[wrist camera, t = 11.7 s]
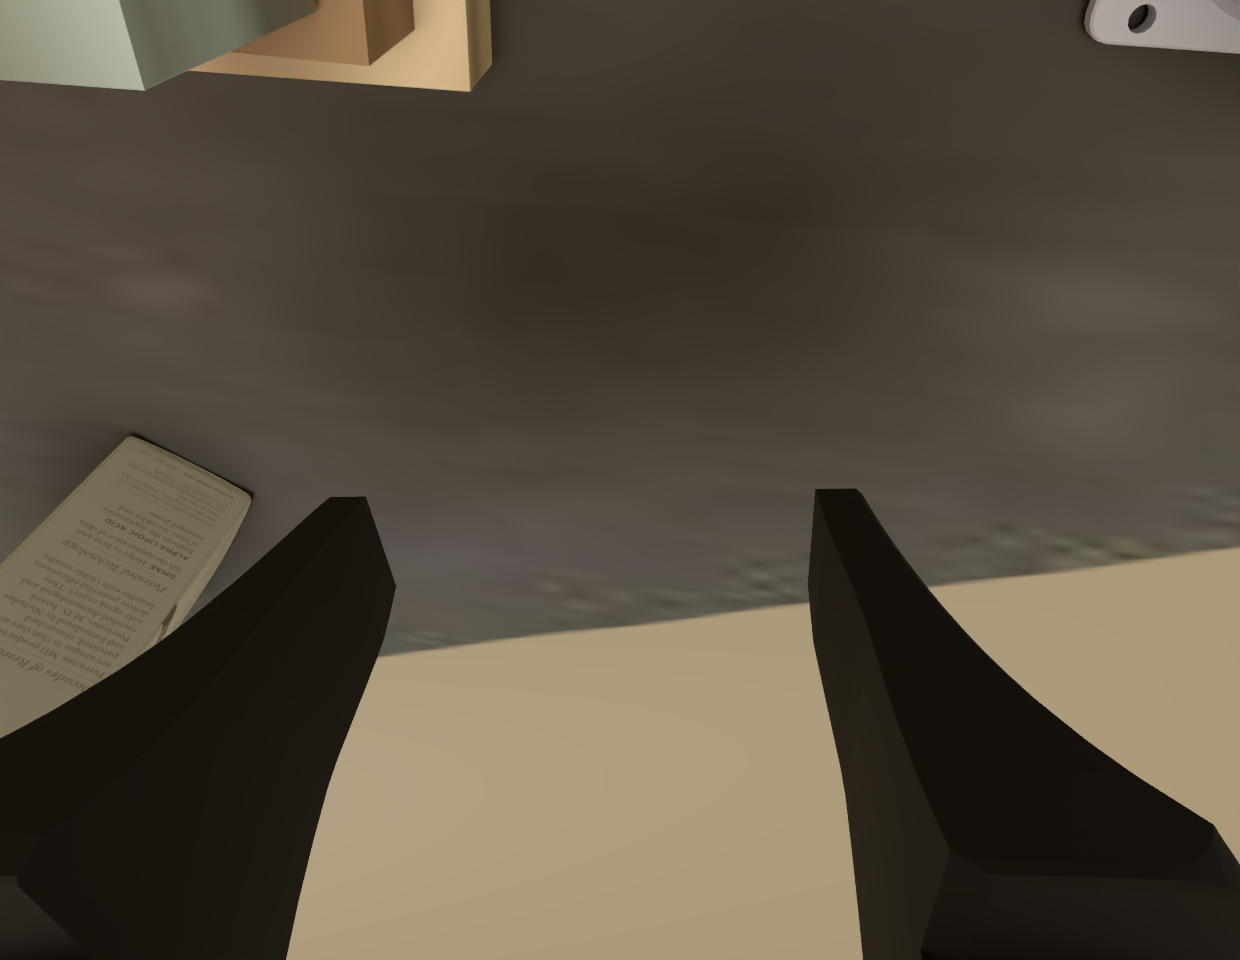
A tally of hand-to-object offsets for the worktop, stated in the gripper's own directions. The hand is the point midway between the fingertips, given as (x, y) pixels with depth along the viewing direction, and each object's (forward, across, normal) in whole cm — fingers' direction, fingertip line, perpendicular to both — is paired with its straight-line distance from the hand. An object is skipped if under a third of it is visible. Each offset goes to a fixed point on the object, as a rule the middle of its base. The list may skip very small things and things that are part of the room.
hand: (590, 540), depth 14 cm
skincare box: (+11, +16, +8) cm, 21 cm away
